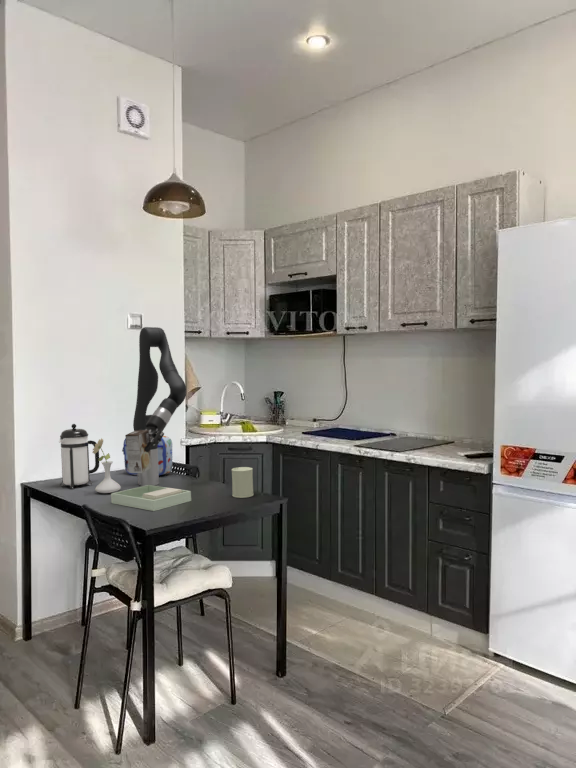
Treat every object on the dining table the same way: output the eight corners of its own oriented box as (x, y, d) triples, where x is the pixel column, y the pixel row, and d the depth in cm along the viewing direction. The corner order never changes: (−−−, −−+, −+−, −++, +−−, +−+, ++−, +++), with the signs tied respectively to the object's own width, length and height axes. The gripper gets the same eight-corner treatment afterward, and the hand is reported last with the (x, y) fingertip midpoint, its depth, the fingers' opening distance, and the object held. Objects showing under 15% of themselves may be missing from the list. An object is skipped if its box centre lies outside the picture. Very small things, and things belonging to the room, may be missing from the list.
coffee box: (138, 467, 265) (135, 430, 263) (152, 467, 264) (149, 429, 262) (128, 473, 256) (124, 434, 254) (142, 473, 255) (139, 434, 253)
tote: (111, 505, 257) (111, 493, 257) (149, 496, 273) (148, 484, 273) (153, 513, 241) (153, 500, 241) (191, 503, 257) (190, 491, 257)
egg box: (142, 506, 250) (142, 493, 249) (169, 499, 261) (168, 487, 261) (156, 508, 245) (155, 496, 245) (182, 501, 256) (182, 489, 256)
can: (233, 493, 274) (232, 466, 274) (254, 492, 274) (253, 465, 273) (230, 498, 265) (230, 469, 264) (252, 497, 265) (251, 469, 264)
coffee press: (88, 489, 292) (86, 425, 291) (54, 489, 292) (52, 425, 291) (100, 481, 309) (98, 421, 308) (68, 482, 310) (66, 422, 308)
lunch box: (119, 475, 325) (118, 433, 324) (131, 471, 335) (130, 430, 334) (164, 477, 315) (162, 434, 314) (175, 474, 324) (174, 432, 323)
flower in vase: (108, 488, 291) (105, 435, 290) (126, 490, 286) (124, 436, 285) (86, 494, 280) (84, 439, 279) (105, 496, 274) (103, 440, 273)
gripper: (143, 414, 270) (122, 444, 262) (165, 415, 262) (145, 445, 253) (153, 425, 275) (133, 454, 266) (175, 426, 266) (156, 456, 258)
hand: (139, 450), depth 260 cm, fingers closed on coffee box, 8 cm apart
